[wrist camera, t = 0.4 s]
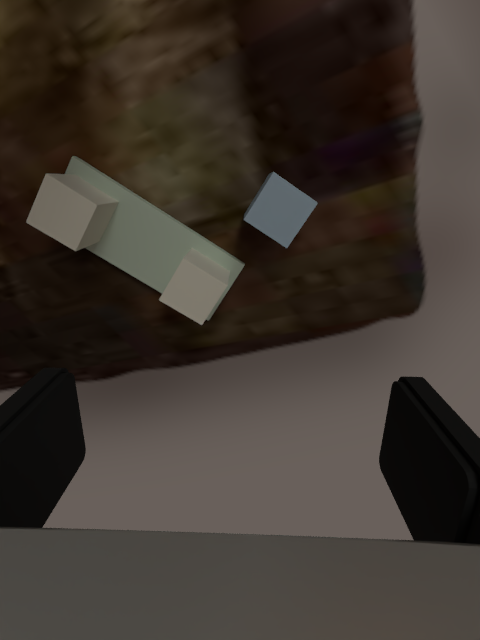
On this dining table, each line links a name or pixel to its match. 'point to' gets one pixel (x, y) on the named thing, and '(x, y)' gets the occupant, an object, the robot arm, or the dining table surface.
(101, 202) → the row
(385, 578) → the robot arm
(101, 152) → the dining table surface
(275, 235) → the block
